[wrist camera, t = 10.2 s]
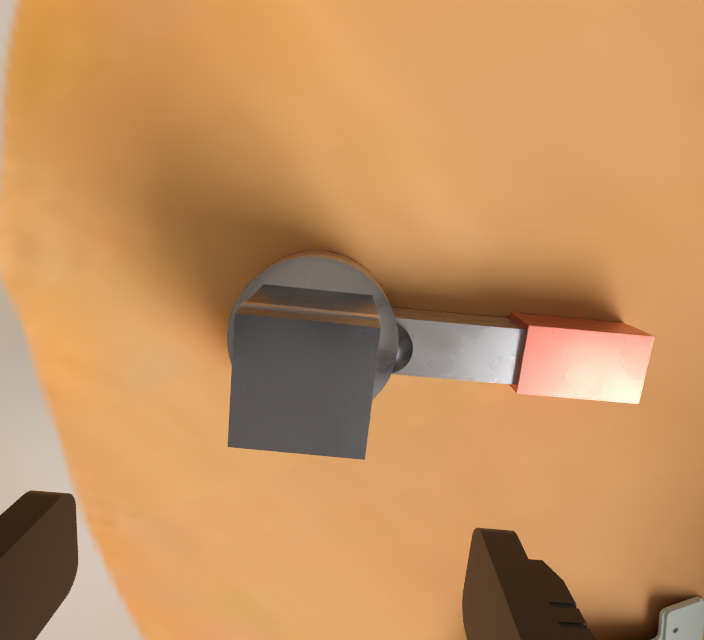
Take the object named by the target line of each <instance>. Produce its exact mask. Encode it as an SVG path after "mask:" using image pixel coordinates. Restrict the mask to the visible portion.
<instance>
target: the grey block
mask: <svg viewBox="0 0 704 640" xmlns="http://www.w3.org/2000/svg"><path fill="white" fill-rule="evenodd" d="M380 330H381V327H380V315H378V314H377V310H376V306H375V302H374V298H373V295H365V294H356V293H346V292H336V291H326V290H317V289H307V288H297V287H287V286H278V285H268V284H263V285H262V286H261V287H260V288H259V289H258V290H257V291H256V292H255V293H254V294H253V295H252V296H251V297H250V298H249V299H248V300H247V301H246V302H245V301H244V302H243V303H242V304H241V307H240V308H239V309H238V310H237V311H236V312H235V319H234V338H233V357H232V376H231V395H230V414H229V432H228V447H235V448H245V449H256V450H267V451H278V452H288V453H299V454H310V455H321V456H331V457H342V458H353V459H364V460H365V453H366V445H367V437H368V429H369V420H370V412H371V404H372V396H373V388H374V379H375V371H376V363H377V355H378V347H379V338H380Z"/></svg>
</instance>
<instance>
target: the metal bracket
mask: <svg viewBox="0 0 704 640" xmlns="http://www.w3.org/2000/svg"><path fill="white" fill-rule="evenodd" d="M703 629H704V600H703V599H702V598H701V597H699V596H696V597H693V598H690V599H688V600H685V601H682V602H679V603H676V604H674V605H671V606H668V607H665V608H663V609H662V610H661V612H660V615H659V628H658V634H657V636H656V637H655V638H653V639H651V640H702V638H703Z"/></svg>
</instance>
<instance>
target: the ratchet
mask: <svg viewBox="0 0 704 640" xmlns="http://www.w3.org/2000/svg"><path fill="white" fill-rule="evenodd" d="M263 284H268V285H278V286H287V287H297V288H307V289H317V290H326V291H336V292H346V293H356V294H365V295H373V298H374V302H375V306H376V310H377V314H378V315H380V327H381V330H380V338H379V347H378V355H377V363H376V371H375V379H374V388H373V396H372V400H373V399H374V398H375V397H376V396H377V395H378V394H379V392H380V391H381V390H382V389H383V387H384V386H385V384H386V383H387V381H388V380H389V378H390V376H391V374H398V375H409V376H421V377H432V378H444V379H456V380H467V381H479V382H491V383H502V384H509V385H510V386H511V387H512V388H513V389H514V391H515V392H516V393H518V394H530V395H542V396H553V397H565V398H577V399H588V400H600V401H612V402H623V403H635V404H639V400H640V395H641V391H642V387H643V383H644V379H645V374H646V370H647V366H648V362H649V358H650V353H651V349H652V345H653V341H654V336H652V335H650V334H647V333H645V332H643V331H641V330H639V329H636V328H634V327H632V326H630V325H628V324H625V323H622V322H611V321H600V320H589V319H578V318H567V317H556V316H544V315H533V314H522V313H510V318H504V317H492V316H481V315H470V314H459V313H448V312H437V311H425V310H414V309H403V308H392V307H391V305H390V303H389V300H388V298H387V295H386V293H385V291H384V290H383V288H382V286H381V285H380V283H379V282H378V280H377V279H376V278H375V277H374V276H373V275H372V274H371V273H370V272H369V271H368V270H367V269H366V268H365V267H363V266H362V265H361V264H359V263H357V262H356V261H354V260H352V259H350V258H348V257H346V256H343V255H340V254H337V253H334V252H327V251H303V252H299V253H295V254H291V255H289V256H286V257H284V258H282V259H280V260H278V261H276V262H274V263H273V264H272V265H270V266H269V267H267V268H266V269H265V270H264V271H263V272H261V273H260V274H259V275H258V276H257V277H256V278H255V279H253V280H252V281H251V282H250V283H249V284H248V285H247V287H246V288H245V289H244V291H243V292H242V293H241V294H240V296H239V298H238V300H237V301H236V303H235V305H234V308H233V310H232V313H231V316H230V320H229V324H228V333H227V343H228V351H229V357H230V360H231V364H232V357H233V338H234V319H235V312H236V311H237V310H238V309H239V308H240V307H241V304H242V303H243V302H244V301H245V302H246V301H247V300H248V299H249V298H250V297H251V296H252V295H253V294H254V293H255V292H256V291H257V290H258V289H259V288H260V287H261V286H262V285H263Z"/></svg>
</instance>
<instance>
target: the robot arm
mask: <svg viewBox="0 0 704 640" xmlns="http://www.w3.org/2000/svg"><path fill="white" fill-rule="evenodd" d="M76 524H77V523H76V504H75V499H74V497H73V496H72V495H71V494H68V493H56V492H44V491H29V492H27V493H25V494H24V495H23V496H22V497H21V498H19V499H18V500H17V501H16V502H15V503H14V504H13V505H11V506H10V507H9V508H8V509H7V510H6V511H5V512H4V513H2V514H1V515H0V640H35V639H36V638H37V636H38V635H39V634H40V632H41V631H42V629H43V628H44V627H45V625H46V624H47V623H48V621H49V620H50V618H51V617H52V616H53V614H54V613H55V612H56V610H57V609H58V607H59V606H60V605H61V603H62V602H63V601H64V599H65V598H66V596H67V595H68V593H69V591H70V589H71V587H72V585H73V582H74V579H75V576H76V572H77V567H78V545H77V525H76ZM462 610H463V622H464V628H465V632H466V636H467V640H595V638H594V636H593V634H592V633H591V631H590V629H587V623H586V622H585V620H584V618H583V616H582V614H581V612H580V610H579V609H577V608H576V603H575V601H574V599H573V598H572V596H571V594H570V592H569V590H568V588H567V586H566V585H565V583H564V581H563V580H562V579H561V578H560V577H559V576H558V575H557V574H556V573H555V572H554V571H553V570H552V569H551V568H550V567H549V566H548V565H547V564H545V563H544V562H543V561H542V560H531V559H528V557H527V555H526V553H525V551H524V549H523V547H522V545H521V542H520V540H519V538H518V536H517V534H516V533H515V532H514V531H509V530H497V529H484V528H476V529H475V530H474V532H473V535H472V540H471V546H470V553H469V559H468V565H467V571H466V577H465V583H464V590H463V600H462Z"/></svg>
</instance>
